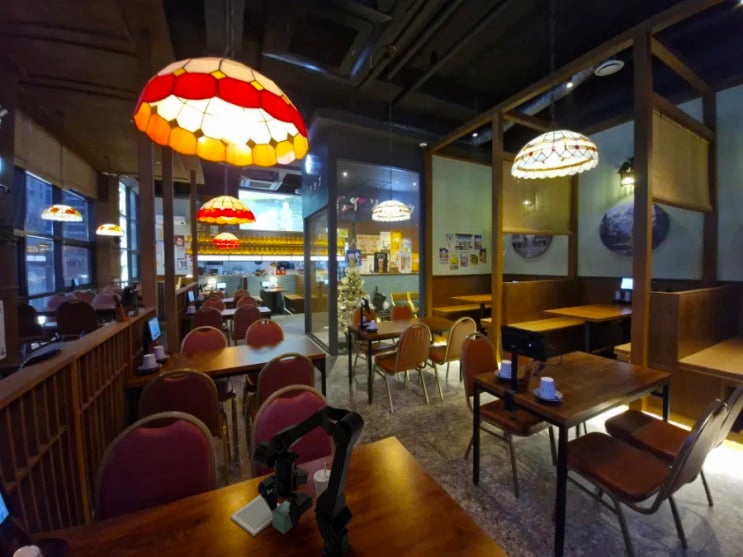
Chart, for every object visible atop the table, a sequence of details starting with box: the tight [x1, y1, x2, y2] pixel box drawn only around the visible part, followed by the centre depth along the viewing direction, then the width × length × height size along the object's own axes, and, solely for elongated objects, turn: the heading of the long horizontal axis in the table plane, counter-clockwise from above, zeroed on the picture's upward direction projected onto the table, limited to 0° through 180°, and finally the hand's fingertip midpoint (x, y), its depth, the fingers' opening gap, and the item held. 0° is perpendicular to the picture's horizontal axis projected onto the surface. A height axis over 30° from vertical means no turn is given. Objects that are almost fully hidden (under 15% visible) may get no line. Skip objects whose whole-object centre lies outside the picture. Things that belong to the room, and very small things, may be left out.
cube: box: [272, 500, 293, 535], centre depth 96 cm, size 5×5×5 cm
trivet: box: [229, 494, 282, 537], centre depth 100 cm, size 12×12×1 cm
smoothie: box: [313, 461, 331, 499], centre depth 105 cm, size 6×6×14 cm
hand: (284, 521), depth 96 cm, fingers open, 9 cm apart
